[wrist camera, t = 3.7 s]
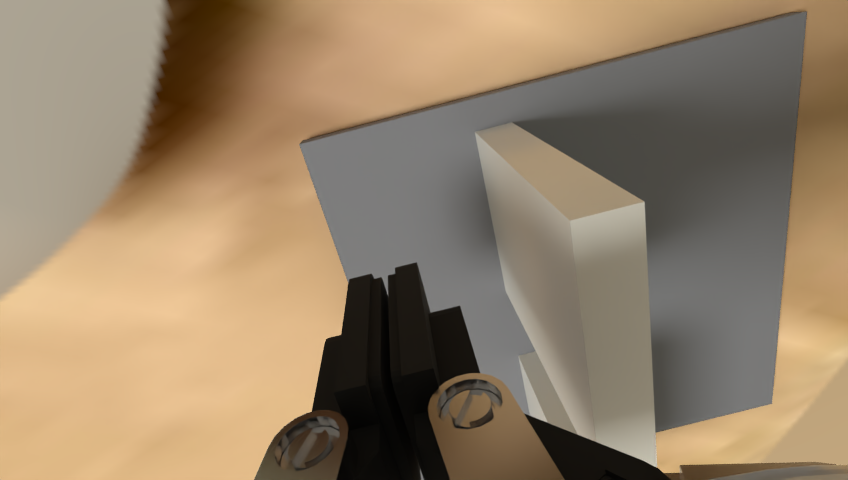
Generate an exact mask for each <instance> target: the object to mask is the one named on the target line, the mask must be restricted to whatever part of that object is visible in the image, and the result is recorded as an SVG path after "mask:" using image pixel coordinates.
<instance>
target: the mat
mask: <svg viewBox="0 0 848 480" xmlns="http://www.w3.org/2000/svg"><path fill="white" fill-rule="evenodd" d="M806 17H807V12H794V13H788V14H784V15H780V16H776V17H773V18H769V19H765V20H761V21H757V22H754V23H750V24H746V25H742V26H738V27H734V28H731V29H727V30H723V31H719V32H715V33H712V34H708V35H704V36H700V37H696V38H692V39H689V40H685V41H681V42H677V43H673V44H670V45H666V46H662V47H658V48H654V49H650V50H647V51H643V52H639V53H635V54H631V55H628V56H624V57H620V58H616V59H612V60H608V61H605V62H601V63H597V64H593V65H589V66H586V67H582V68H578V69H574V70H570V71H566V72H563V73H559V74H555V75H551V76H547V77H544V78H540V79H536V80H532V81H528V82H524V83H521V84H517V85H513V86H509V87H505V88H502V89H498V90H494V91H490V92H486V93H482V94H479V95H475V96H471V97H467V98H463V99H460V100H456V101H452V102H448V103H444V104H441V105H437V106H433V107H429V108H425V109H421V110H418V111H414V112H410V113H406V114H402V115H399V116H395V117H391V118H387V119H383V120H379V121H376V122H372V123H368V124H364V125H360V126H357V127H353V128H349V129H345V130H341V131H337V132H334V133H330V134H326V135H322V136H318V137H315V138H311V139H307V140H303V141H302V142H301V143H300V144H299V145H300V148H301V150H302V153H303V156H304V159H305V162H306V165H307V167H308V170H309V173H310V176H311V179H312V182H313V184H314V187H315V190H316V193H317V196H318V199H319V201H320V204H321V207H322V210H323V213H324V216H325V218H326V221H327V224H328V227H329V230H330V232H331V235H332V238H333V241H334V244H335V247H336V249H337V252H338V255H339V258H340V261H341V264H342V266H343V269H344V272H345V275H346V278H347V281H348V283H349V279H351V278H355V277H359V276H363V275H367V274H372V275H373V277H374V279H376V278H380V277H382V279H383V282H384V285H385V288H386V291H387V295H388V275H392V274H395V267H399V266H403V265H407V264H411V263H415V262H417V264H418V268H419V271H420V275H421V279H422V282H423V286H424V290H425V294H426V297H427V301H428V305H429V308H430V312H431V313H432V312H436V311H440V310H444V309H448V308H452V307H456V306H460V307H461V310H462V314H463V317H464V320H465V324H466V327H467V330H468V334H469V337H470V340H471V344H472V347H473V350H474V354H475V357H476V360H477V364H478V367H479V370H480V373H482V374H487V375H492V376H494V377H496V378H497V379H499V380H501V381H502V382H503V383H504V384H505V385H506V386H507V387H508V388H509V390H510V392H511V393H512V395H513V397H514V398H515V400H516V401H517V403H518V405H519V406H520V408H521V410H522V411H523V413H524V414H527V415H529V416H530V413H529V408H528V403H527V398H526V393H525V388H524V382H523V377H522V372H521V367H520V362H519V357H518V356H519V355H523V354H527V353H531V352H535V349H534V347H533V345H532V343H531V341H530V339H529V337H528V335H527V333H526V331H525V329H524V327H523V325H522V323H521V321H520V319H519V317H518V315H517V313H516V311H515V309H514V307H513V305H512V303H511V301H510V299H509V297H508V295H507V293H506V290H505V285H504V280H503V274H502V269H501V264H500V259H499V254H498V249H497V244H496V238H495V233H494V228H493V223H492V218H491V213H490V208H489V203H488V197H487V192H486V187H485V182H484V177H483V172H482V167H481V161H480V156H479V151H478V146H477V141H476V136H475V132H476V131H480V130H484V129H488V128H492V127H496V126H499V125H503V124H507V123H511V122H512V123H514V124H515V125H517V126H519V127H520V128H522V129H524V130H525V131H527V132H529V133H530V134H532V135H534V136H535V137H537V138H539V139H540V140H542V141H544V142H545V143H547V144H549V145H550V146H552V147H554V148H555V149H557V150H559V151H560V152H562V153H564V154H566V155H567V156H569V157H571V158H572V159H574V160H576V161H577V162H579V163H581V164H582V165H584V166H586V167H587V168H589V169H591V170H592V171H594V172H596V173H597V174H599V175H601V176H602V177H604V178H606V179H607V180H609V181H611V182H612V183H614V184H616V185H617V186H619V187H621V188H622V189H624V190H626V191H628V192H629V193H631V194H633V195H634V196H636V197H638V198H639V199H641V200H643V201H644V202H645V222H646V243H647V264H648V286H649V307H650V328H651V349H652V370H653V391H654V412H655V433H656V432H660V431H664V430H668V429H672V428H676V427H680V426H684V425H688V424H692V423H696V422H700V421H704V420H708V419H712V418H716V417H720V416H724V415H728V414H732V413H736V412H740V411H744V410H748V409H752V408H756V407H760V406H764V405H768V404H772V396H773V385H774V374H775V363H776V351H777V340H778V329H779V318H780V307H781V296H782V284H783V273H784V262H785V251H786V240H787V229H788V217H789V206H790V195H791V184H792V173H793V162H794V150H795V139H796V128H797V117H798V106H799V95H800V84H801V72H802V61H803V50H804V39H805V28H806ZM420 473H421V480H424V478H423V475H422V472H421V469H420Z"/></svg>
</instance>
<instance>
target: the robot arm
mask: <svg viewBox="0 0 848 480" xmlns="http://www.w3.org/2000/svg"><path fill="white" fill-rule="evenodd" d="M420 469H421V472H422V475H423V478H424V480H848V465H836V464H827V463H819V462H798V463H797V462H795V463H754V464H713V465H680V473H663V472H662V471H660V470H659V469H658V468H656V467H654V466H652V465H651V464H649V463H647V462H645V461H643V460H640V459H638V458H635V457H633V456H630V455H628V454H625V453H623V452H620V451H618V450H615V449H613V448H610V447H608V446H605V445H603V444H600V443H598V442H595V441H593V440H590V439H587V438H585V437H582V436H580V435H577V434H575V433H572V432H570V431H567V430H565V429H562V428H560V427H557V426H555V425H552V424H550V423H547V422H545V421H542V420H540V419H537V418H535V417H532V416H529V415H527V414H524V413H523V411H522V410H521V408H520V406H519V405H518V403H517V401H516V400H515V398H514V397H513V395H512V393H511V392H510V390H509V388H508V387H507V386H506V385H505V384H504V383H503V382H502V381H501V380H499V379H497V378H496V377H494V376H492V375H487V374H482V373H480V370H479V367H478V364H477V360H476V357H475V354H474V350H473V347H472V344H471V340H470V337H469V334H468V330H467V327H466V324H465V320H464V317H463V314H462V310H461V307H460V306H456V307H452V308H448V309H444V310H440V311H436V312H432V313H431V312H430V308H429V305H428V301H427V297H426V294H425V290H424V286H423V282H422V279H421V275H420V271H419V268H418V264H417V262H415V263H411V264H407V265H403V266H399V267H395V274H392V275H388V295H387V291H386V288H385V285H384V282H383V279H382V277H380V278H376V279H374V277H373V275H372V274H367V275H363V276H359V277H355V278H351V279H349V283H348V291H347V298H346V305H345V312H344V319H343V327H342V334H341V335H339V336H335V337H331V338H328V339H326V341H325V345H324V350H323V355H322V361H321V366H320V371H319V376H318V382H317V387H316V392H315V398H314V403H313V408H312V412H309V413H306V414H304V415H302V416H300V417H298V418H296V419H294V420H293V421H291V422H290V423H288V424H287V425H286V426H284V427H283V428H282V429H281V430H280V432H279V433H278V434H277V435H276V436H275V437H274V439H273V440H272V442H271V444H270V445H269V447H268V449H267V452H266V454H265V456H264V458H263V461H262V463H261V465H260V467H259V470H258V472H257V474H256V477H255V479H254V480H421V473H420Z"/></svg>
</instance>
